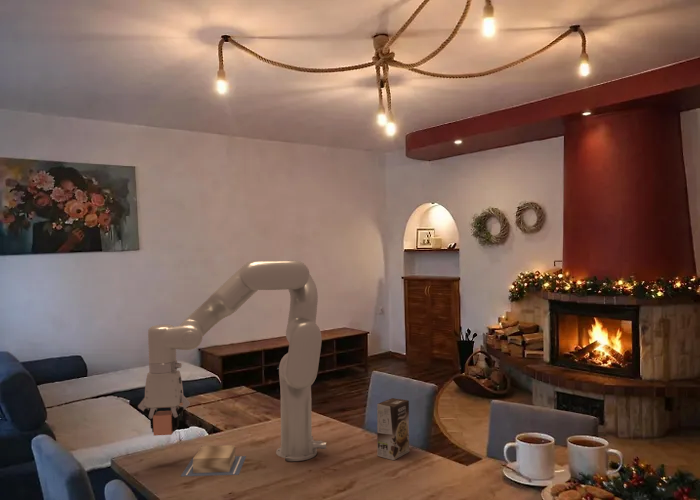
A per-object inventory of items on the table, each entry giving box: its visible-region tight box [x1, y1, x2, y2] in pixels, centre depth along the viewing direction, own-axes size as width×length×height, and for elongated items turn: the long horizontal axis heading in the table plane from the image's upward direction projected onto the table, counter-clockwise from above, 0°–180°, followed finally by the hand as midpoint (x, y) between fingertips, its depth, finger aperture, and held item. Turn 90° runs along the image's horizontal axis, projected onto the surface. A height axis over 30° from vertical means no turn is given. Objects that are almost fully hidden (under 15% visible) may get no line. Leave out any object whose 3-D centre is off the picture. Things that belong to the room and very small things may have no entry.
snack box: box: [376, 397, 410, 461], centre depth 168 cm, size 9×6×16 cm
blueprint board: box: [180, 455, 247, 477], centre depth 158 cm, size 16×14×1 cm
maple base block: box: [192, 444, 236, 473], centre depth 158 cm, size 10×10×4 cm
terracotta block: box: [152, 410, 175, 436], centre depth 158 cm, size 5×5×6 cm
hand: (164, 429), depth 158 cm, fingers closed on terracotta block, 4 cm apart
